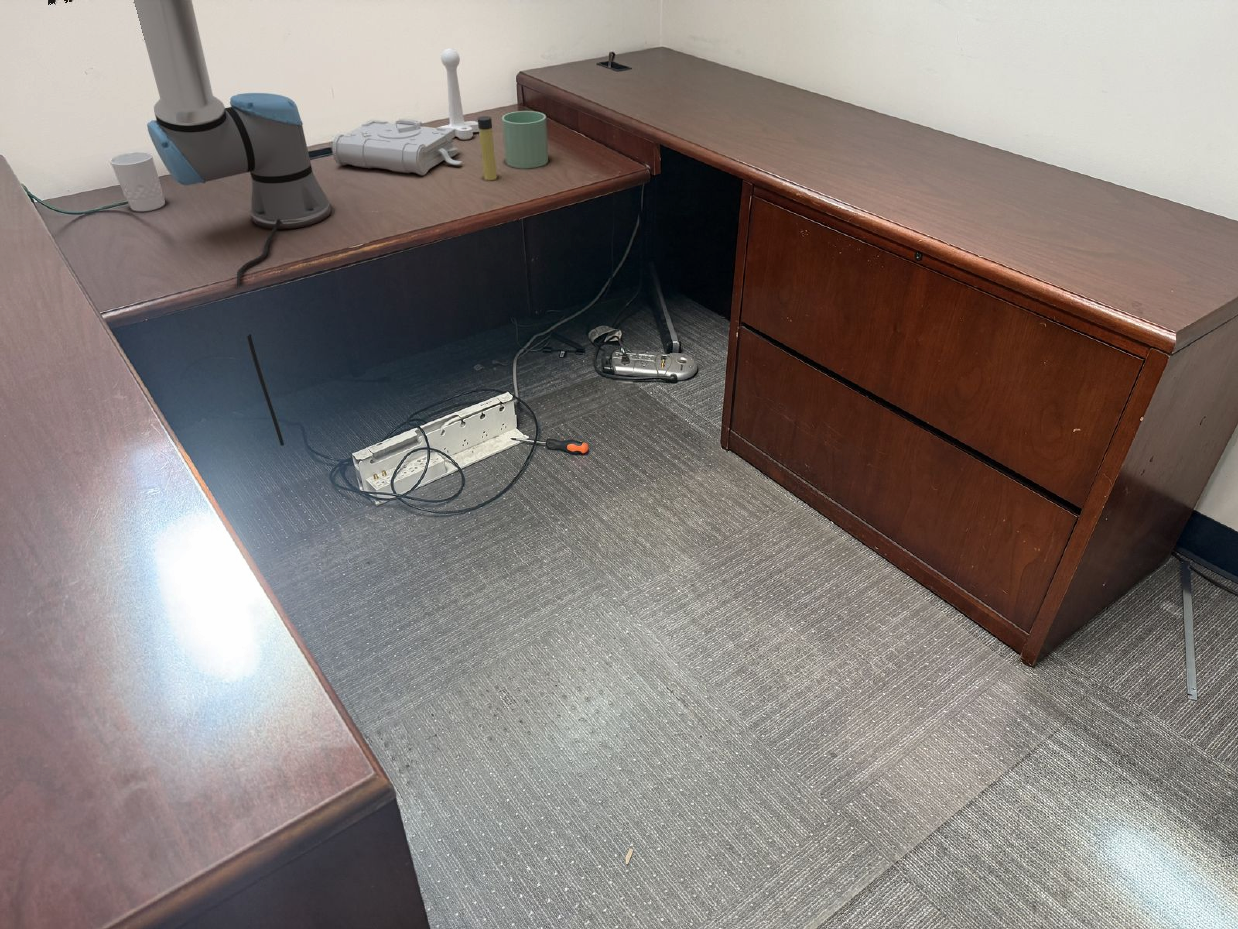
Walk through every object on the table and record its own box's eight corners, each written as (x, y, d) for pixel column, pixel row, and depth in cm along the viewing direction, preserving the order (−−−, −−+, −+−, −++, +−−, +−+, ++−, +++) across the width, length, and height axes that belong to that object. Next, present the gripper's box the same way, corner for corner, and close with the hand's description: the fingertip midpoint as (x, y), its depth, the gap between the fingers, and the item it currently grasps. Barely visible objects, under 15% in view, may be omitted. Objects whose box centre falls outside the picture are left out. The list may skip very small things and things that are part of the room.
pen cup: (550, 166, 196) (547, 122, 189) (507, 169, 194) (503, 124, 188) (546, 153, 203) (543, 109, 197) (504, 155, 202) (500, 111, 196)
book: (440, 181, 189) (436, 146, 184) (332, 167, 196) (325, 133, 191) (478, 156, 203) (475, 123, 199) (376, 144, 210) (371, 111, 206)
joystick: (472, 128, 219) (464, 44, 207) (488, 135, 215) (480, 49, 203) (434, 136, 214) (424, 49, 202) (449, 143, 209) (440, 55, 197)
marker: (497, 179, 189) (491, 119, 181) (484, 180, 189) (477, 120, 181) (496, 175, 191) (491, 115, 183) (483, 176, 191) (477, 116, 183)
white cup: (153, 214, 174) (135, 165, 168) (119, 211, 176) (100, 162, 170) (176, 200, 180) (160, 152, 174) (143, 197, 182) (126, 150, 176)
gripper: (139, -81, 171) (164, 26, 187) (-1, -72, 158) (38, 42, 175) (153, -65, 168) (177, 42, 184) (11, -55, 155) (50, 59, 171)
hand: (110, 42), depth 179 cm, fingers open, 13 cm apart
